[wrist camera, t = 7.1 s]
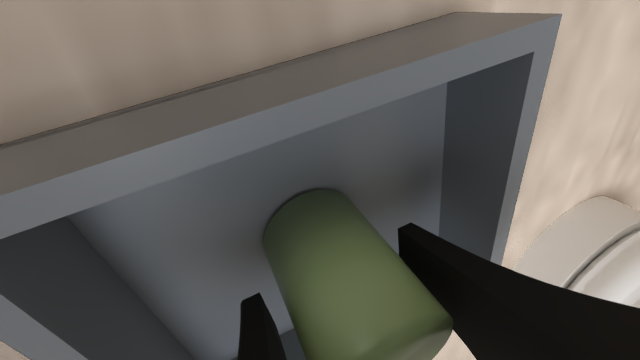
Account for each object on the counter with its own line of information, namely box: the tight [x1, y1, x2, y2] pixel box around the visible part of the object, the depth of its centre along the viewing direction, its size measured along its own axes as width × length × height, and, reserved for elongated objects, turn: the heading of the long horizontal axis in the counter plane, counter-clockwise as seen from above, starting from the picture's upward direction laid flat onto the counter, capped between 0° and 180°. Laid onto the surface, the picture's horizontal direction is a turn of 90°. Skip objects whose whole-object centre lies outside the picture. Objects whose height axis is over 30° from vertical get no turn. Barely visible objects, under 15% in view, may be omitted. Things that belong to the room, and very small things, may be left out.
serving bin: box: [0, 12, 562, 360], centre depth 12 cm, size 16×14×4 cm
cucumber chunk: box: [263, 190, 454, 360], centre depth 11 cm, size 4×4×6 cm
